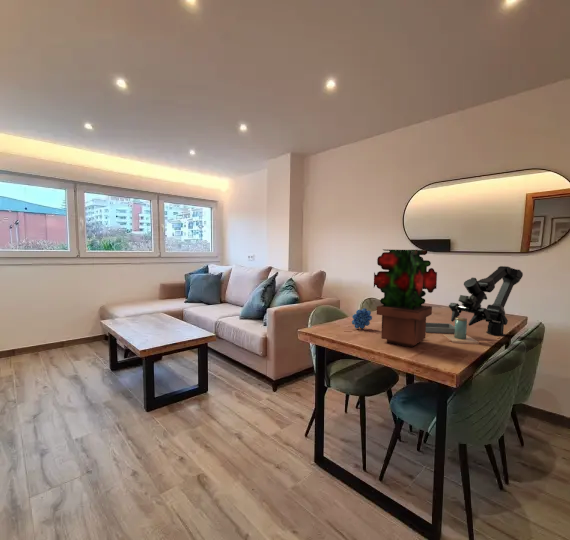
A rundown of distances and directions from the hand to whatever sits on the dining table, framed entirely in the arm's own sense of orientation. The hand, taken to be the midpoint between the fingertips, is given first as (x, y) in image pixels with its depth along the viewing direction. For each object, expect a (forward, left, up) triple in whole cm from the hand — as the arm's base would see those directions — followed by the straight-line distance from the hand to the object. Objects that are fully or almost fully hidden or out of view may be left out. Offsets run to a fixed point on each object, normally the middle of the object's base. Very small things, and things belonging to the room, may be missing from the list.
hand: (460, 323), depth 150 cm
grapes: (+43, -22, -9) cm, 50 cm away
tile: (-1, 0, -9) cm, 9 cm away
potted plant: (+30, +4, -9) cm, 32 cm away
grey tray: (+2, -16, -9) cm, 18 cm away
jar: (-1, 0, -8) cm, 8 cm away
